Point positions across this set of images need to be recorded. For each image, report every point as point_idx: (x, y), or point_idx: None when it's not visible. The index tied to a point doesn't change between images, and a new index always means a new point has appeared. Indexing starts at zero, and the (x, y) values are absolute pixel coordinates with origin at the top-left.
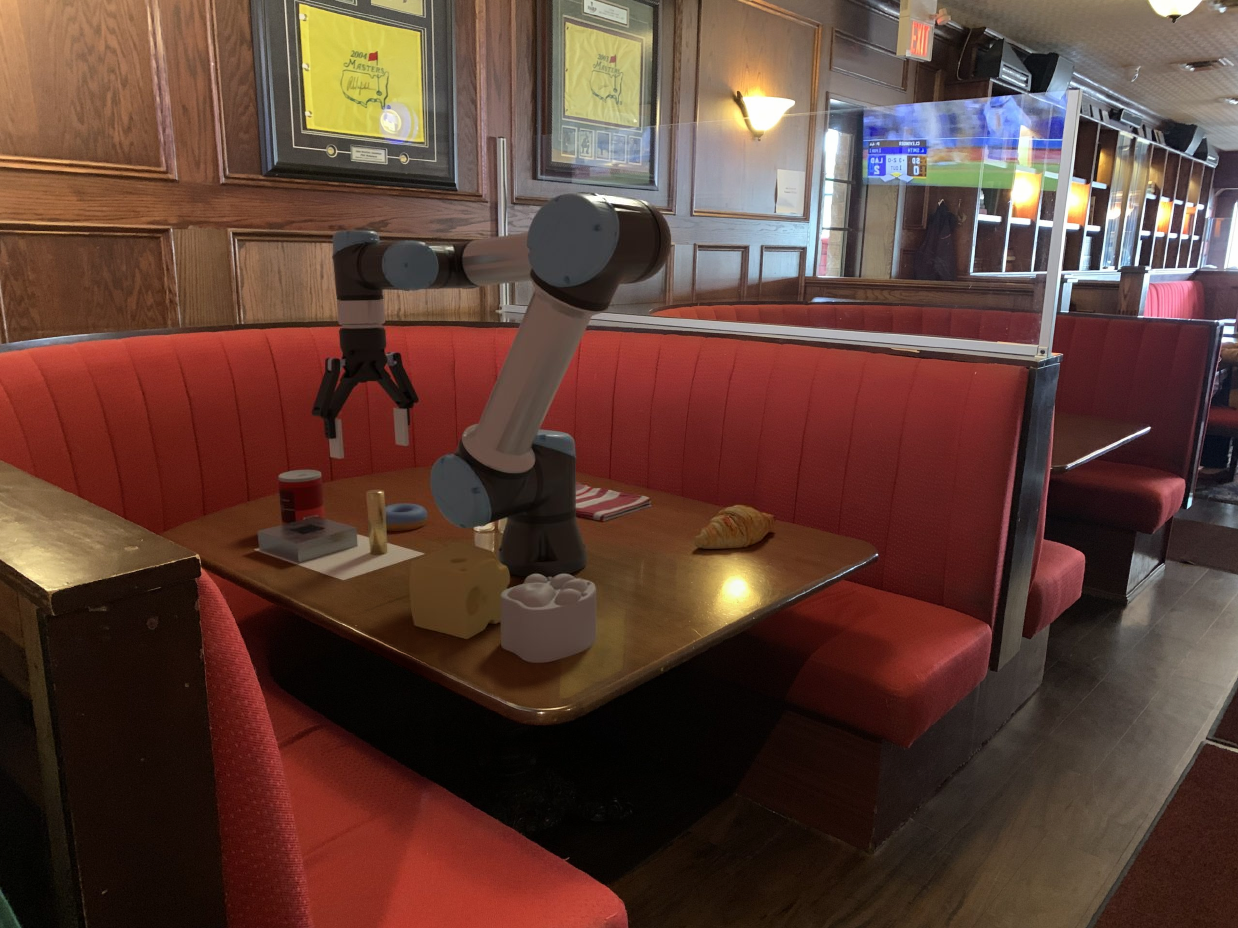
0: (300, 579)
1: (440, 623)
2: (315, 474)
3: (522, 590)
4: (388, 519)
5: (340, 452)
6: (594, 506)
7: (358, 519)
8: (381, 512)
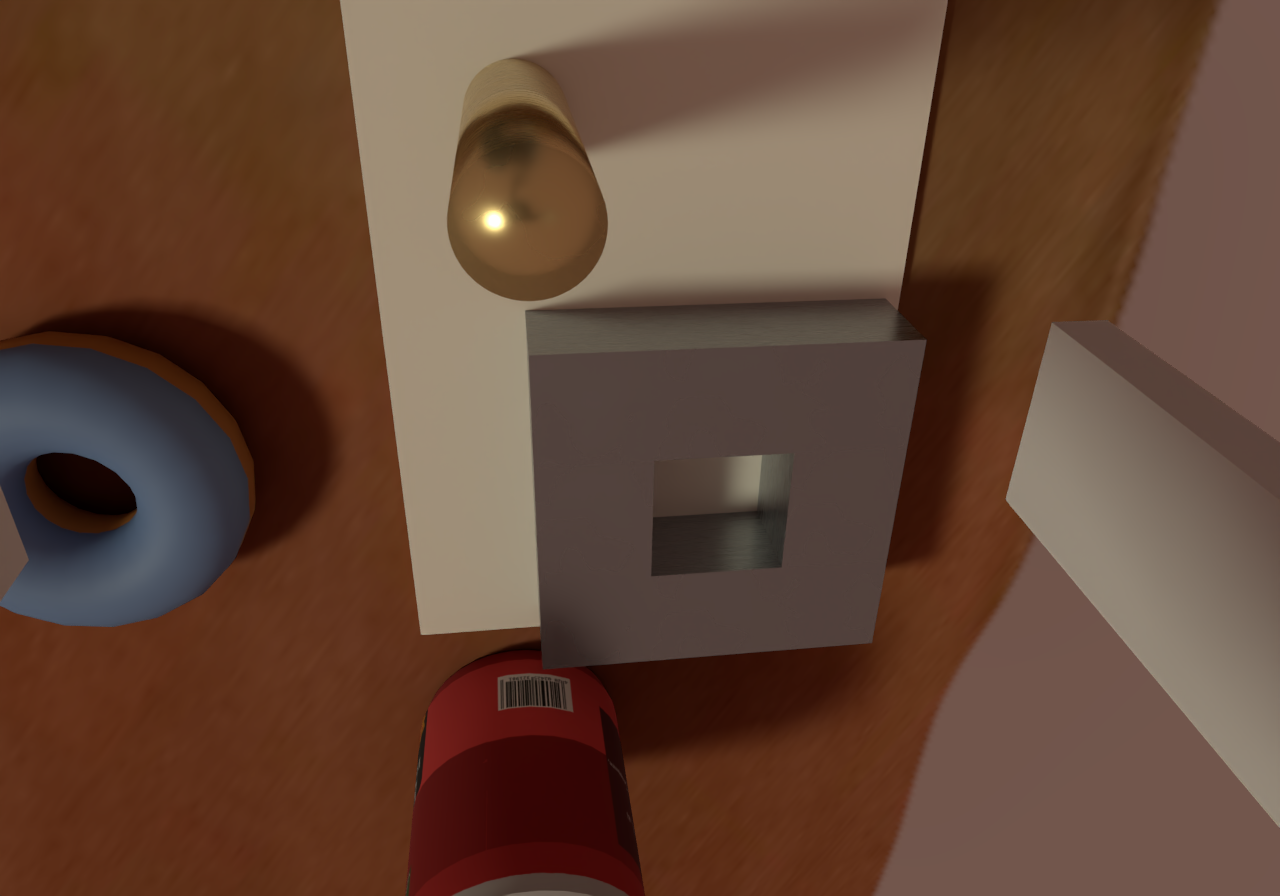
0: (1026, 100)
1: None
2: None
3: None
4: (214, 446)
5: (1146, 351)
6: None
7: (238, 692)
8: (523, 109)
